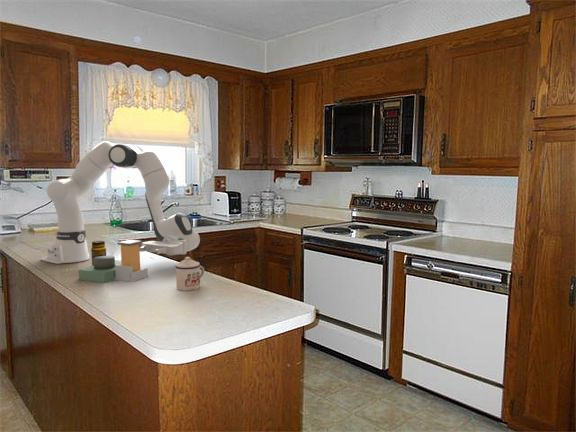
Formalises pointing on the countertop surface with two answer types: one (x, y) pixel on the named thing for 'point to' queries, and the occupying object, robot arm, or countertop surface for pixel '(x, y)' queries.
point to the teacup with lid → (188, 274)
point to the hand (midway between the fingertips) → (148, 250)
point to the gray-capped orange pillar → (130, 253)
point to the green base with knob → (110, 271)
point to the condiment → (98, 249)
